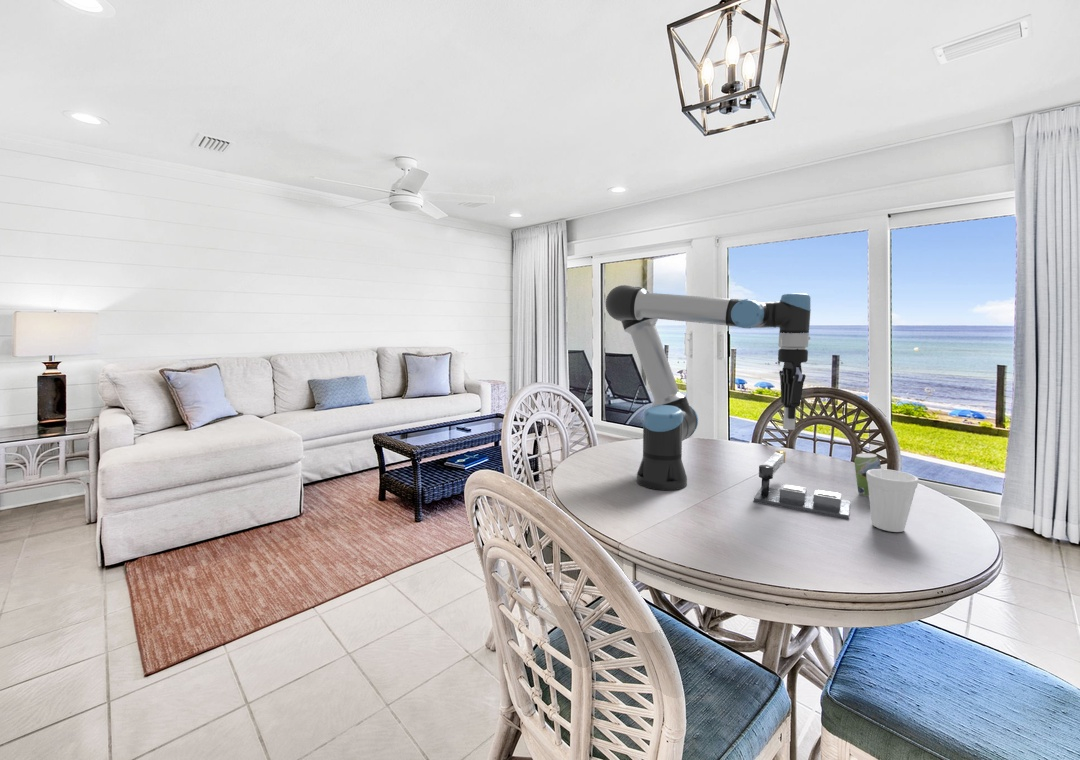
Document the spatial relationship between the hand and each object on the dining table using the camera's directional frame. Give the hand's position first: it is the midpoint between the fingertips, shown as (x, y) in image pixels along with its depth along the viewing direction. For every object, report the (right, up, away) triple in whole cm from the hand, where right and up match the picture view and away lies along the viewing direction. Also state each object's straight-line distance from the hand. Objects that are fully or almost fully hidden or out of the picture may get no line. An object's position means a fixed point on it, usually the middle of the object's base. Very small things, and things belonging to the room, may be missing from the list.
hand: (788, 428), depth 139 cm
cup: (+10, -21, -25) cm, 35 cm away
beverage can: (+21, -19, -3) cm, 28 cm away
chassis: (-1, -19, -9) cm, 21 cm away
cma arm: (-4, -12, +2) cm, 13 cm away
